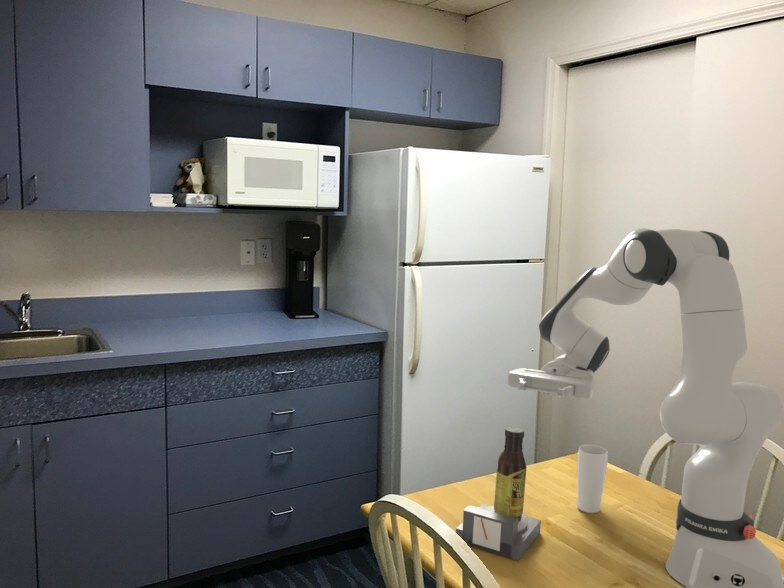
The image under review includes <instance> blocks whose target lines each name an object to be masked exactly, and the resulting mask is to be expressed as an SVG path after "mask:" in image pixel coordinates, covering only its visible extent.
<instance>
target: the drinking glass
mask: <svg viewBox="0 0 784 588" xmlns="http://www.w3.org/2000/svg"><path fill="white" fill-rule="evenodd" d="M577 451H578V452H577V460H576V461H577V463H576V464H577V465H576V466H577V469H576V470H577V471H576V472H577V473H576V474H577V479H576V480H577V501H576V502H577V505H576V506H577V509H578V510H580V512H583V513H586V514H596V513H599V512H600V511H601V507H602V506H601V505H602V504H601V503H602V498H603V497H602V496H603V493H604V492H603V491H604V485H605V481H606V475H607V468H608V460H609V459H608V458H609V455H608V454H609V452H608V449H606V448H605V447H603V446H600V445H597V444H582V445H580V446H578V450H577Z"/></svg>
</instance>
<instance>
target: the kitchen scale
mask: <svg viewBox="0 0 784 588" xmlns="http://www.w3.org/2000/svg"><path fill="white" fill-rule="evenodd" d="M462 518H463V519H462V523H460V524H459V525H458V526H457V527H456V529H455V534H456V533H457V534H458V535H459V536H460V537H461V538H462V539H463V540H464V541H465V542H466V543H467V544H468V545H469V547H472V548H474V547H475V549H478V548H479V549H478V550H481V551H484V552H488V553H490V554H494V555H496V556H500V557H504V558H506V559H510V560H513V561H517V562H519V561H520V559H521V558H522V557H523V555H524V554H525V553H526V551H528V549H529V548H530V546H531V545H532V544H533V543H534V541H535V540H536V539H537V538H538V536H539V535H540V534H541V528H542V527H541V526H542V525H541V524H542V520H541V519H538V518H535V517H532V516H527V515H526V514H525V513H524V512H523V514H522V518H521V520H520V522H518V518H514V517H510V516H507V515H503V514H500V513H496V512H495V510H494V505H488V504H483V503H481V504H480V505H479V506H474V505H472V504H469V505H468V506H466V508H464V509H463V515H462ZM468 545H467V546H468Z"/></svg>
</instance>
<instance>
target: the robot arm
mask: <svg viewBox="0 0 784 588" xmlns="http://www.w3.org/2000/svg"><path fill="white" fill-rule="evenodd" d="M667 283H669V284H671V285H673V286H674V287H675V289H676V290H677V292H678V296H679V308H680V314H681V315H680V319H681V331H682V350H683V351H682V360H681V361H682V362H681V366H680V370H679V373H678V376H677V379H676V382H675V384H674V385H673V387H672V389H671V391H670V392H669V393H668V394H667V395H666V396H665V397H664V398H663V401H661V405H660V409H659V418H660V423H661V426H662V428H663V429H664V433H666V435H668V437H669V438H670V439H671V440H673V441H675V442H676V443H679V444H685V445H692V446H693V445H695V446H699V448H698V450H697V451H696V452H695V453H693V455H691V456H690V458H688V460H687V461H686V463H685V465H684V469H683V478H682V487H681V498H680V499H679V501H678V504H677V508H676V515H675V516H676V518H675V524H676V525H675V527H676V533H675V537H674V541H673V543H672V548H671V551H670V553H669V556H668V558H667V561H666V562H665V569H666V571H667V573H668V574H669V575H670V577H671V578H673V579H674V580H675V581H677V582H678V583H680V584H681V585H683V586H684V587H685V588H784V575H783V571H782V568H781V567H782V566H781V565H780V561H779V559H778V557H777V555H776V554H775V553H774V552H773V551H772V550H771V549H770V548H769V547H768V546H766V545H765V544H764V543H763V542H762V541H761V540H760V539H759V538H758V537H757V536H756V532H757V530H756V528H755V521H754V520H753V519H754V518H753V515H752V514H751V513H750V515H748V514H746V512H744V507H745V499H746V493H747V485H748V481H749V477H750V474H751V470H752V468H753V466H754V463H755V462H756V459H757V457H758V454H759V453H760V451H761V449H762V447H763V445H764V444H765V442H766V440H767V438H768V437H769V436H771V434H772V433H773V432H774V431H775V430H776V429H777V428H778V427H779V426H780V425H781V423H782V421H783V418H784V417H783V416H784V408H783V404H782V401H781V399H780V397H779V395H778V394H777V393H776V392H775V391H774V390H773V389H772V388H771V387H769V386H767V385H764V384H760V383H755V382H747V381H737V382H732V381H733V380H732V379H733V374H734V372H735V368H736V366H737V364H738V363H739V361H740V360H741V359H742V358H744V357H745V354H746V352H747V349H748V344H747V343H748V342H747V334H746V333H747V332H746V325H745V314H744V306H743V305H744V304H743V298H742V293H741V288H740V285H739V280H738V277H737V274H736V271H735V268H734V265H733V264H732V263H731V262H730V249H729V246H728V243H727V241H726V240H725V239H724V238H723V237H722V236H721V235H719V234H717V233H715V232H712V231H708V230H707V231H706V230H698V231H696V230H687V229H679V228H678V229H677V228H671V229H670V228H669V229H659V230H654V229H650V228H646V227H645V228H643V227H642V228H637V229H634V230H632V231H631V232H630V233H629V234H627V236H626V237H625V238H624V239H623V240H622V241H621V243H620V244H619V245H618V246H617V248H616V249H615V250H614V251H613V253H612V255H611V256H610V258H609V259H608V262H607V263H606V264H605V265H603V266H601V267H595V266H594V267H591V268H590V269H588V270H586V271H585V273H583V274H582V275H581V276H580V277H579V278H578V279H577V280H576V281H575V283H573V284H572V286H571V287H570V288H569V289H568V290H567V291H566V293H565V294H564V295H563V296H562V297H561V298H560V300H559V301H558V302H557V303H556V304H555V305H554V306H553V307H552V308H550V309H549V310H548V311H547V312H545V314H544V315H543V317H541V319H540V321H539V324H538V329H539V330H538V331H539V333H540V337H541V338H542V340H545V342H548V344H551V345H552V346H554V347H556V348H557V349H558V350H560V351H562V352H563V353H562V354H561V355H559V356H557V357H556V358H554V359H552V360H550V361H549V362H547V363H545V364H544V365H543V366H542V367H541V369H540V370H539V369H533V368H525V367H520V368H515V369H513V370H510V371H508V373H507V384H508V385H507V386H509V387H512V388H515V389H516V388H517V389H518V390H520V391H526V390H529V391H534V392H535V391H536V392H541V393H546V394H548V395H549V396H553V397H557V398H559V397H560V398H561V397H562V398H565V397H573V398H578V399H585V400H589V399H592V397H593V392H594V373H596V371H598V369H600V367H601V366H602V364H603V363H605V361H606V359H607V358H608V355H609V353H610V349H611V347H610V341H609V340H610V339H609V338H608V336H607V335H606V334H604V333H603V332H602V331H600V330H598V329H597V328H596V327H594V326H593V325H591V324H589V323H588V322H586V321H585V320H584V319H582V318H581V317H579V315H578V314H576V313H575V312H574V309H575V308H576V306H578V304H579V303H580V302H581V301H583V299H585V298H586V299H587V298H589V299H595V300H599V301H601V302H605V303H608V304H610V305H615V306H629V305H632V304H635V303H638V302H639V301H641V300H642V299H643V298H644V297H645V296H646V295H647V294H648V293H649V292H650V289H651V288H652V287H653V285H656V286H657V285H658V286H664V285H665V284H667Z"/></svg>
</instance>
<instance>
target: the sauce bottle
mask: <svg viewBox="0 0 784 588" xmlns="http://www.w3.org/2000/svg"><path fill="white" fill-rule="evenodd" d="M504 436H505V441H504V449H503V451H502V452H501V453H500V454H499V456H498V460H497V469H496V476H495V477H496V480H495V491H494V501H493V502H494V503H493V506H494V510H495V512H496V513H500V514H503V515H507V516H510V517H514V518H518V522H520V520H521V518H522V514H523V513H524V504H525V490H526V479H527V478H526V477H527V464H526V459H525V456H524V453H523V443H524V442H523V440H524V438H525V430H524V429H522V428H520V427H512V426H508V427H506V428H505V429H504Z"/></svg>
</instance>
